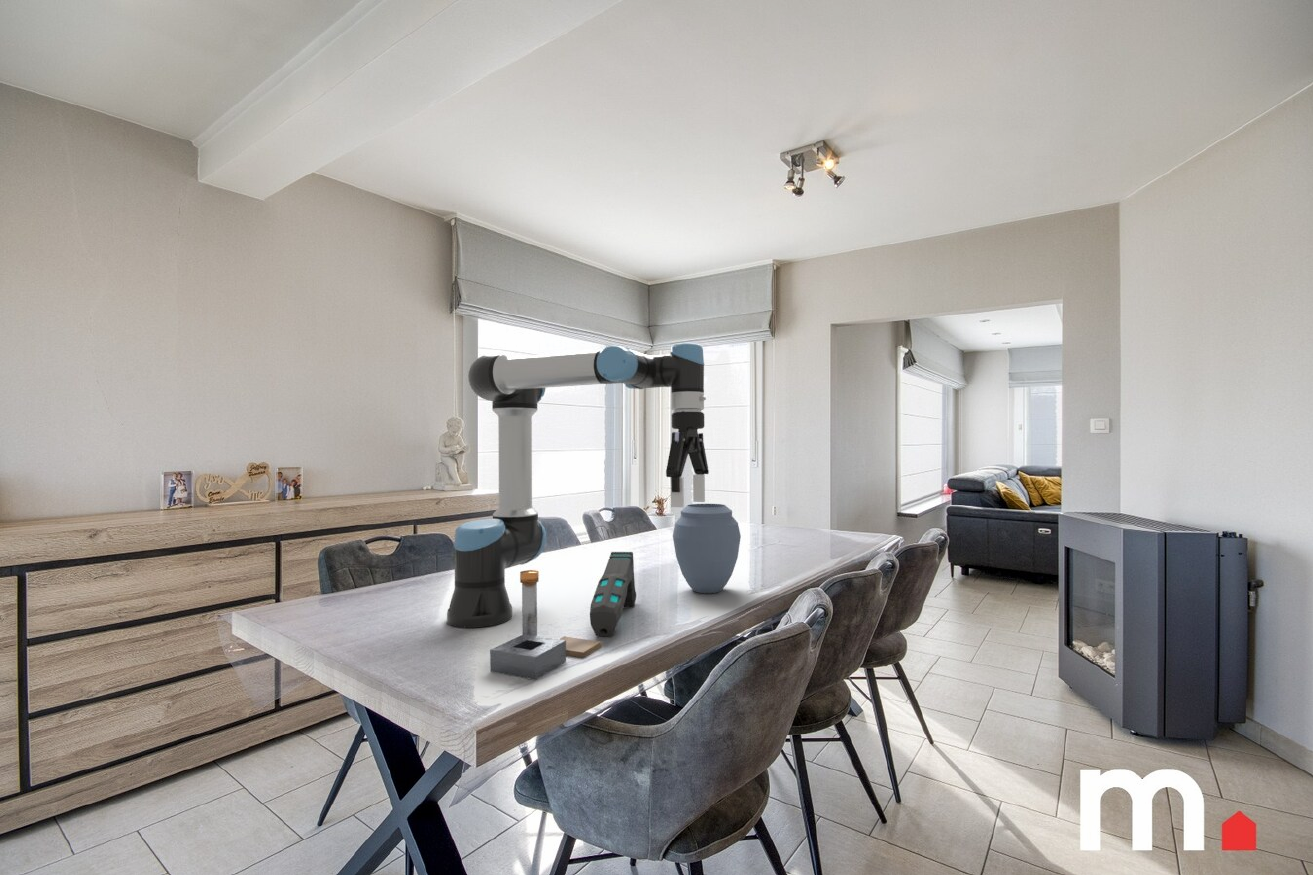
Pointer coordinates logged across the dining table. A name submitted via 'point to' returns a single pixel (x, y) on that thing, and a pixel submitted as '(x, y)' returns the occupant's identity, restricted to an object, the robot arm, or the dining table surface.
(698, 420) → the robot arm
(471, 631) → the dining table surface
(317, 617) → the dining table surface
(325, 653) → the dining table surface
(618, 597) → the gun
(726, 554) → the vase
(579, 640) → the rest pad
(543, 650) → the block
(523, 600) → the capped test tube
